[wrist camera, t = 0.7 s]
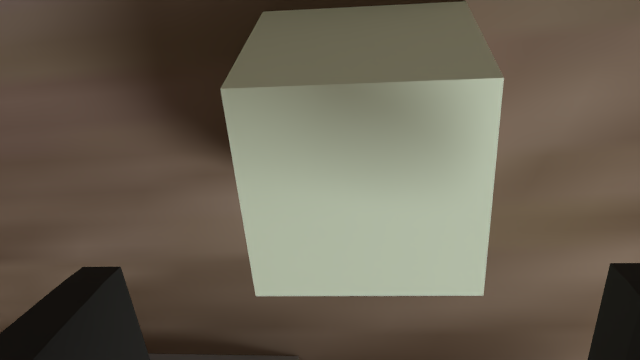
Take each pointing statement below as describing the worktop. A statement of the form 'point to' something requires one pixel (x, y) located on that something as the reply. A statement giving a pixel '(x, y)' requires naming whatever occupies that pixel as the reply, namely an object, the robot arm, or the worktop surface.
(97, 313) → the robot arm
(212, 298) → the worktop surface
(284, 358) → the charcoal plinth
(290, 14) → the sage block
